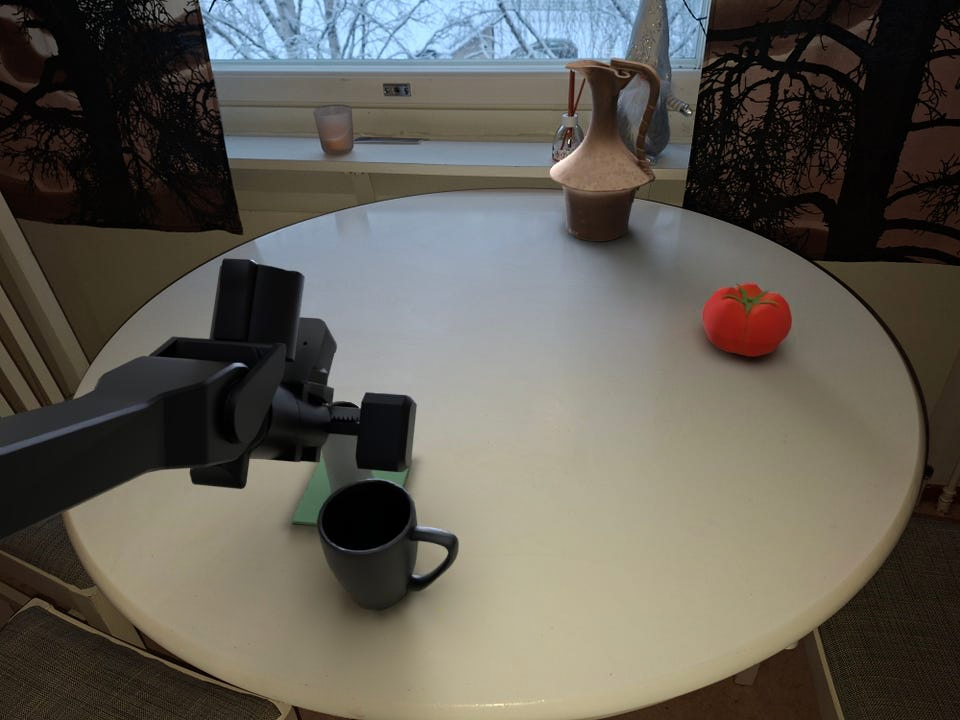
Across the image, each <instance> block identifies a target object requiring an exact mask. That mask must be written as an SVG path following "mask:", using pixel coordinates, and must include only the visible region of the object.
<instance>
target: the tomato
mask: <svg viewBox="0 0 960 720" xmlns="http://www.w3.org/2000/svg"><path fill="white" fill-rule="evenodd" d="M736 285H737V286H734V287H733V286H725V287H724V286H723V287H720V288H719V289H717V290H715V291H714V292H713V294H712V295H711V296H710V297H709V298H708V299H707V301H706V302H705V303H704V306H703V308H702V315H701V316H702V317H701V319H702V324H703V327H704V330H705V333H706V337H707V339H708V341H710V343H712V344H713V345H714V346H715V347H716V348H718V349H720V350H722V351H724V352H726V353H732V354H737V355H741V356H745V357H761V356H763V355H766V354H770V353H773V352H774V351H775V350H776V349H777V348H778V346H779V345H780V344H781V343H782V342H783V341H784V340H785V339H786V338H787V337H788V335H789V334H790V332H791V330H792V323H793V322H792V321H793V317H792V312H791V308H790V305H789V303H788V301H787V300H786V299H785V298H784V297H783V295H781V294H780V293H777V292H770V291H771V289H768V290H764V291H763V290H762V289H761V288H760V287H759V286H758V284H757V283H756V282H745V283H741V284H738V283H736Z"/></svg>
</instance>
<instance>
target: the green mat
mask: <svg viewBox="0 0 960 720" xmlns="http://www.w3.org/2000/svg"><path fill="white" fill-rule="evenodd" d="M412 461H413V460H412V459H411V463H412ZM410 468H411V466H410V467H409V468H408V469H407V470H405V471H404V472H389V471H378V470H373V476H374V479H383V480H388V481H391V482H394V483H396V484H398V485H400V486H401V487H403V488H404V487H405V484H406V480H407V477H408V473H409V471H410ZM331 494H332V493H331V489H330V485H329V480H328V476H327V472H326V468H325V463H324V459H323V455H321V457H320V463H319V462H318V464H317V466H316V469H315V470H314V473H313V475H312V477H311V479H310V481H309V483H308V486H307V488H306V490H305V492H304V494H303V496H302V498H301V499H300V503H299V504H298V507H297V509H296V511H295V513H294V515H293V517H292V519H291V523H292V524H295V525H304V526H316V527H317V519H318V514H319V511H320V509H321V507H322V505H323V503H324V502H325V501H326V500H327V499H328V497H329V496H330V495H331Z"/></svg>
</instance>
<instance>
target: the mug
mask: <svg viewBox="0 0 960 720" xmlns="http://www.w3.org/2000/svg"><path fill="white" fill-rule="evenodd" d="M316 528H317V529H316V530H317V535H318V538H319V542H320V545H321V550H322V553H323V555H324V558H325V561H326V563H327V565H328V567H329V570H330V571H331V573H332V574H333V576H334V578H335V579H336V580H337V582H338V583H339V584H340V586H341V587H342V588H343V590H344V591H345V592H346V593H347V594H348V595H349V596H350V597H351V598H352V600H353V601H354V603H355V604H357V605H359V606H360V607H362V608H364V609H367V610H373V611H374V610H384V609H387V608H390V607H392V606H394V605H396V604H397V603H398V602H400V601H401V600H402V599H403V597H405V595H406V593H407V592H412V593H418V592H422V591H423V590H426V589H427V588H428V587H430V586H431V585H432V584H433V583H435V581H437V580H438V579H439V578H440V577H441V576H442V575H443V574H444V573H446V571H448V570H449V569H450V568H451V567H452V565H453V564H454V563H455V561H456V560H457V558H458V557H457V556H458V553H459V549H460V543H459V538H458V537H457V535H456V534H454V533H453V532H451V531H448V530H445V529H440V528H438V527H437V528H436V527H431V526H423V525H418V517H417V510H416V505H415V501H414V500H413V498H412V496H411V494H410V493H409V492H408V491H407V490H406V488H404V487H401V486H400V485H398V484H396V483H394V482H391V481H388V480H383V479H364V480H359V481H355V482H352V483H350V484H347V485H345V486H343V487H341V488H340V489H338V490H336V491H335V492H334V493H333V494H331V495H330V496H329V497H328V499H327V500H326V501H325V502H324V503H323V505H322V507H321V509H320V511H319V514H318V519H317V526H316ZM419 542H424V543H430V544H435V545H438V546H441V547H443V548H444V549H446V551H447V555H446V557H445V558H444V559H443V561H442V562H441V563H440V564H439V565H437V566H436V568H434V569H433V570H431V571H430V572H427V573H425V574H422V575H421V574H419V575H418V574H414V570H415V567H416V562H417V557H418V549H419Z"/></svg>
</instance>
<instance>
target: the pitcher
mask: <svg viewBox="0 0 960 720" xmlns="http://www.w3.org/2000/svg"><path fill="white" fill-rule="evenodd" d="M564 69H566V70H571V71H573V72H576V73H578V74H579V75H581V76H582V77H583V78H584V79H585V81H587V82H586V83H588V86H589V90H590V95H591V104H592V105H591V118H590V123H589V126H588V130H587V133H586V135H585V136H584V138H583V140H582V141H581V143H580V144H579V146H577V148H576V149H574V151H572V152H571V153H570V154H569V155H567V156H566V157H565V158H563V159H561V160H560V161H558V162H557V163H555V164H554V165H553V166H552V167H551V168H550V170H549V177H550V179H551V180H553V182H556V183H557V184H559V185H560V186H562V190H563V195H564V197H563V198H564V207H565V217H566V219H565V229H566V231H567V232H568V234H570V235H571V236H573V237H575V238H576V239H577V238H578V239H580V240H585V241H592V242H604V241H605V242H606V241H612V240H615V239H617V238H620V237H622V236H624V235H625V234H626V233H627V232H628V230H629V223H630V222H629V221H630V215H631V211H632V206H633V204H634V201H635V197H636V194H637V192H639V190H640V188H641V187H643V186H646V185H647V184H651V183H653V182H654V181H655V180H656V175H655V174H654V170H653V169H652V168H651V167H650V164H649V163H648V161H647V157H646V151H645V145H646V144H645V143H646V138H647V134H648V131H649V128H650V124H651V121H652V119H653V115H654V113H655V111H656V107H657V105H658V103H659V97H660V94H661V80H660V77H659V75H658V73H657V71H656V69H654V68H653V66H651V65H649V64H646V63H643V62H639V61H631V60H626V59H622V58H617V57H611V58H610V62H609V63H606V62H604V61H599V60H595V59H580V60H575V61H572V62H571V61H570V62H568V63H565V65H564ZM637 75H640V76H643V77H644V78H645V79H646V80H647V81H648V84H649V85H648V86H649V91H648V93H649V94H648V98H647V102H646V105H645V107H644V110H643V113H642V117H641V119H640V122H639V125H638V128H637V130H638V131H637V133H636V138H635V147H634V148H635V154H633V153H632V152H631V151H630V149H628V148H627V146H626V144H624V142H623V139H622V137H621V135H620V131H619V127H618V105H619V104H618V103H619V97H620V95H621V91H622V90H624V89H626V88H627V86H628V85H629V84H631V82H632V81H633V80H634V78H635V77H636V76H637Z"/></svg>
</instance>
